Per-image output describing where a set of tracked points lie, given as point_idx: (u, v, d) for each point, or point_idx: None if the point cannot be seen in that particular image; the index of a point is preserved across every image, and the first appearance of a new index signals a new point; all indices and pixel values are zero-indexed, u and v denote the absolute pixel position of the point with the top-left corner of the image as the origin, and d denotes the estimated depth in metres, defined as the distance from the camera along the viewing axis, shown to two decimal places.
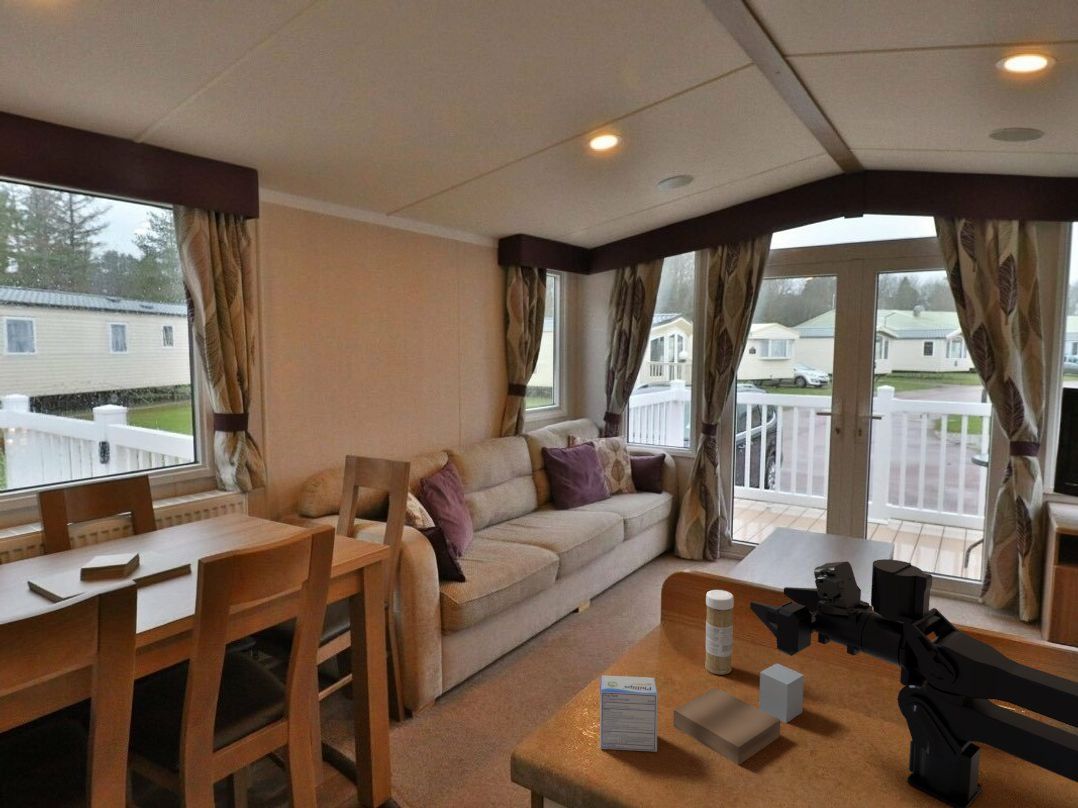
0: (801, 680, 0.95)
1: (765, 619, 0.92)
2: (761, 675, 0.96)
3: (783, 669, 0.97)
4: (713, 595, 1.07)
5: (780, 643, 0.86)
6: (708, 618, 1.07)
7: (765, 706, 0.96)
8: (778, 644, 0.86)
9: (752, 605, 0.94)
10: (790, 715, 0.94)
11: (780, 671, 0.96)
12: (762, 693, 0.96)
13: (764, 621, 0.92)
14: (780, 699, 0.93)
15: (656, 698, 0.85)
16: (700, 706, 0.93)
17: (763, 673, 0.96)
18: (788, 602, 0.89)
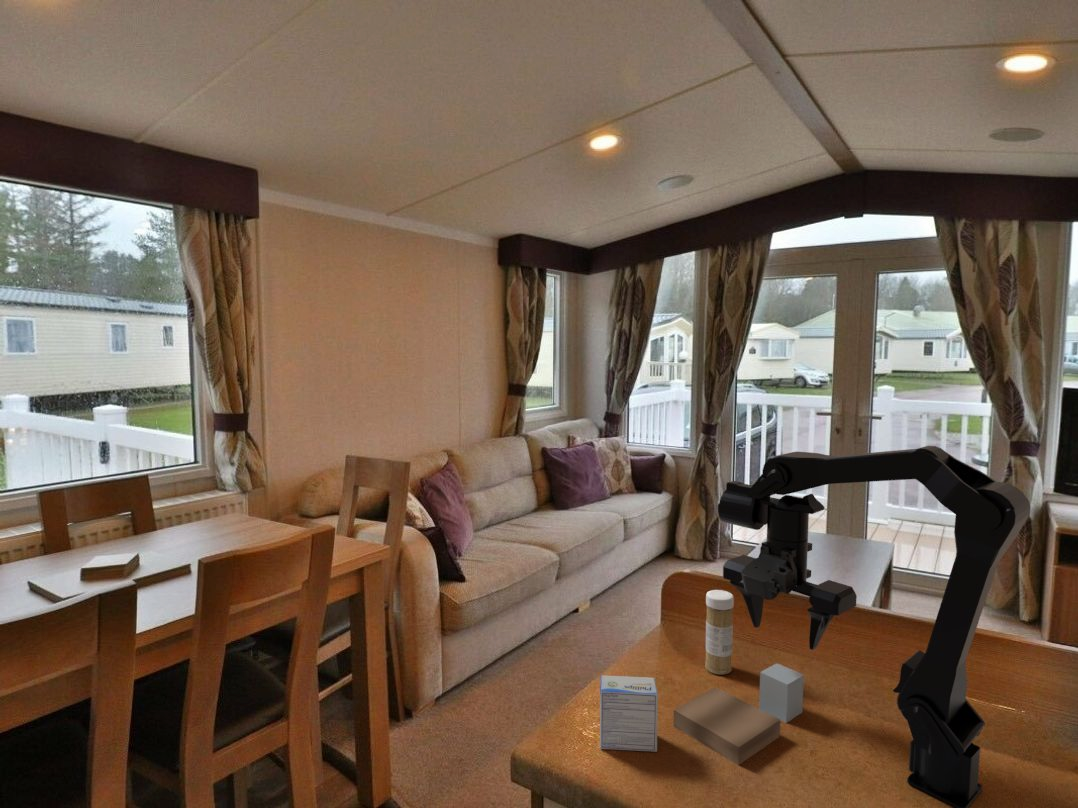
0: (801, 680, 0.95)
1: (824, 628, 0.91)
2: (761, 675, 0.96)
3: (783, 669, 0.97)
4: (713, 595, 1.07)
5: (853, 604, 0.88)
6: (708, 618, 1.07)
7: (765, 706, 0.96)
8: (853, 605, 0.88)
9: (814, 646, 0.91)
10: (790, 715, 0.94)
11: (780, 671, 0.96)
12: (762, 693, 0.96)
13: (825, 628, 0.91)
14: (780, 699, 0.93)
15: (656, 698, 0.85)
16: (700, 706, 0.93)
17: (763, 673, 0.96)
18: (812, 611, 0.88)
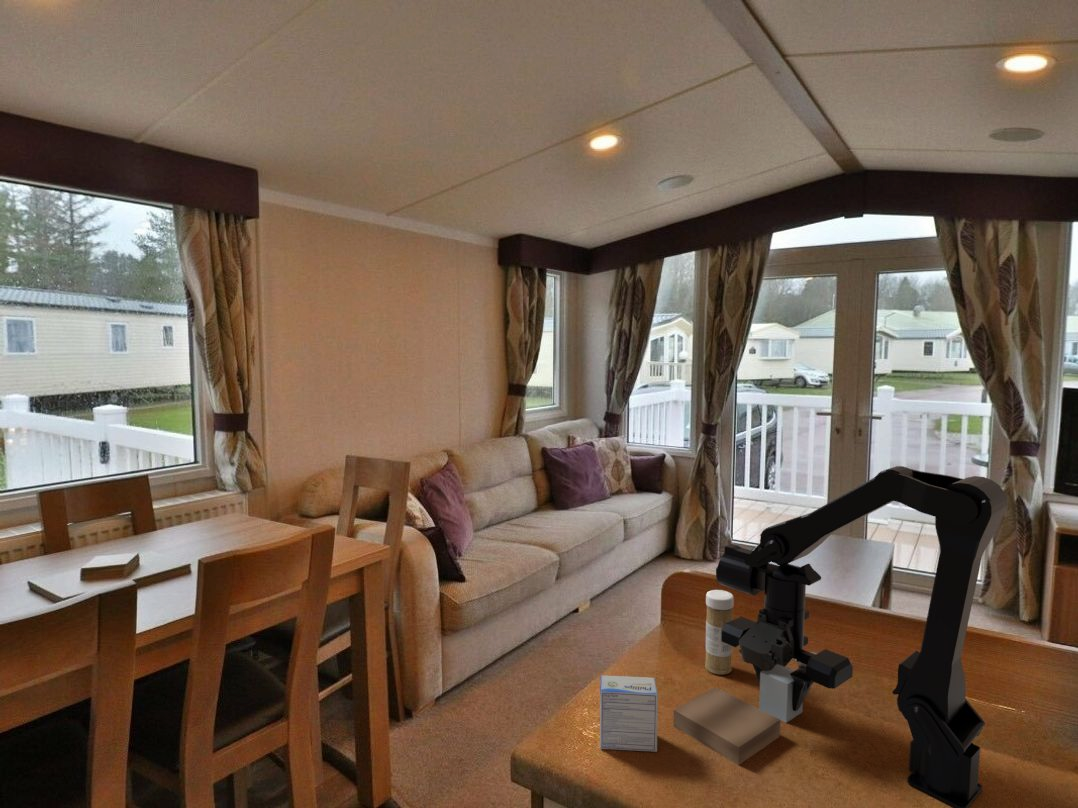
0: None
1: (806, 691, 0.93)
2: (761, 675, 0.96)
3: (783, 669, 0.97)
4: (713, 595, 1.07)
5: (849, 675, 0.89)
6: (708, 618, 1.07)
7: (765, 706, 0.96)
8: (850, 676, 0.89)
9: (797, 708, 0.94)
10: (790, 715, 0.94)
11: (780, 671, 0.96)
12: (762, 693, 0.96)
13: (807, 691, 0.94)
14: (780, 699, 0.93)
15: (656, 698, 0.85)
16: (700, 706, 0.93)
17: (763, 673, 0.96)
18: (794, 676, 0.91)
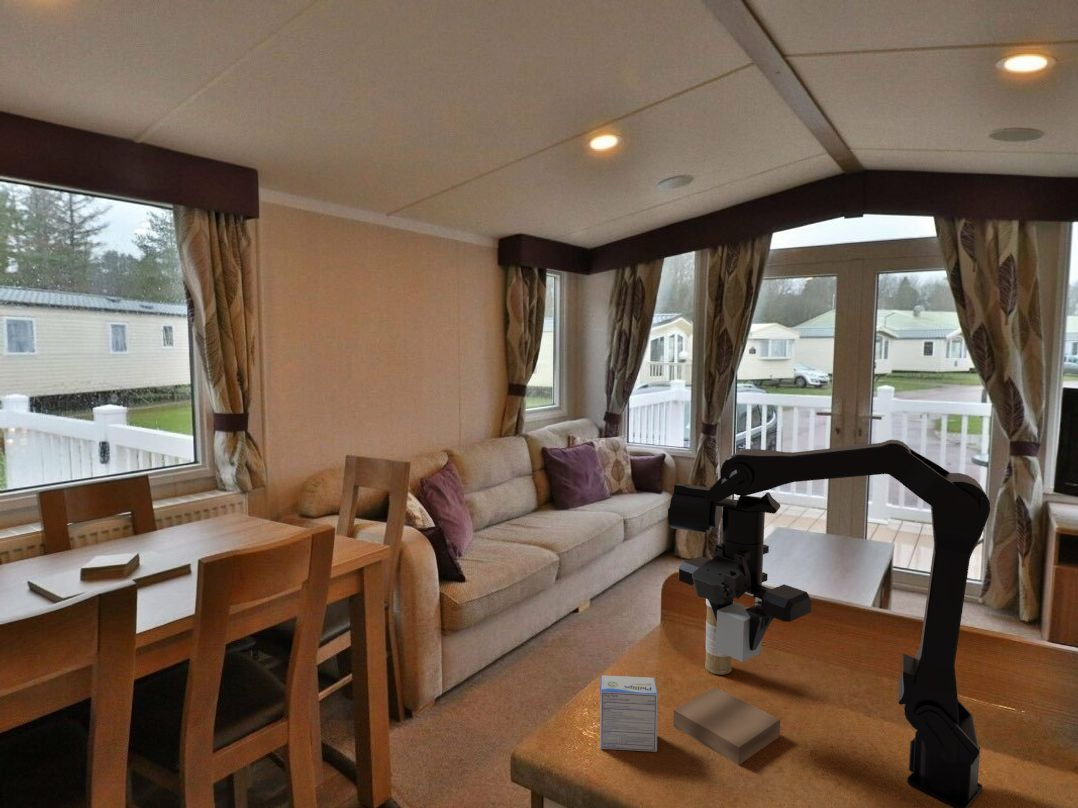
0: None
1: (764, 629, 0.88)
2: (718, 613, 0.91)
3: (742, 608, 0.92)
4: None
5: (807, 610, 0.84)
6: (708, 618, 1.07)
7: (722, 645, 0.91)
8: (808, 611, 0.84)
9: (754, 647, 0.89)
10: (747, 654, 0.89)
11: (738, 610, 0.91)
12: (719, 632, 0.91)
13: (765, 629, 0.89)
14: (736, 637, 0.89)
15: (656, 698, 0.85)
16: (700, 706, 0.93)
17: (720, 611, 0.91)
18: (750, 611, 0.86)
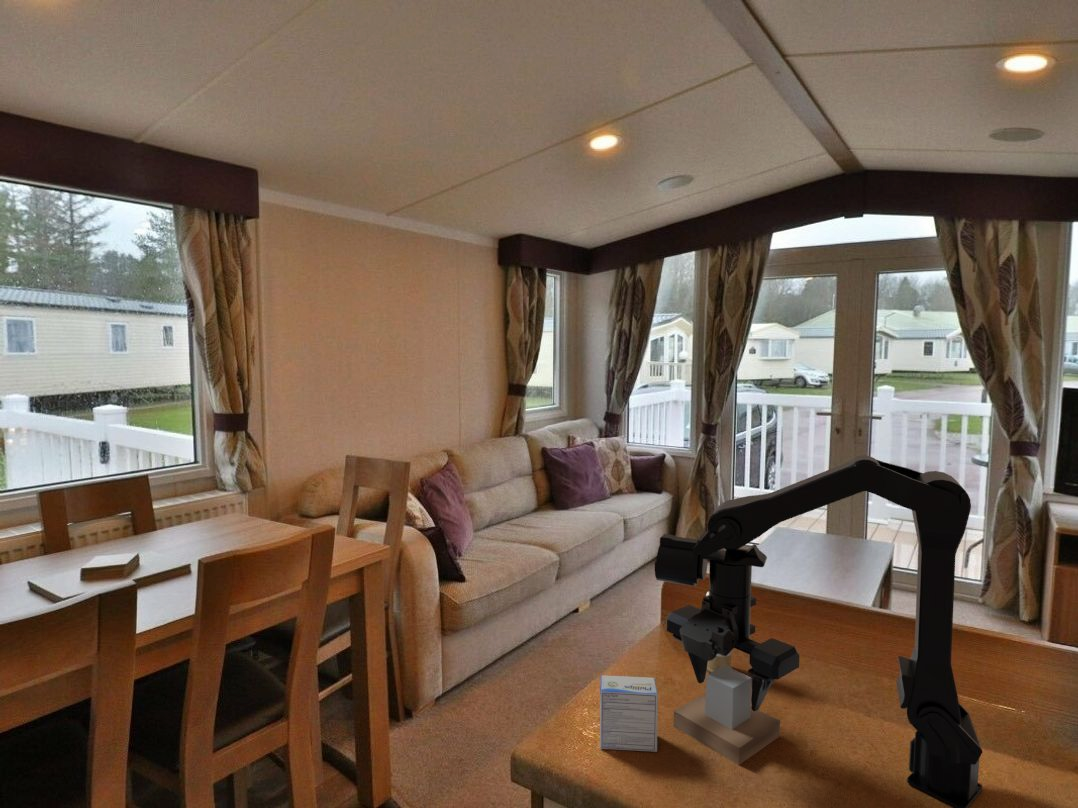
0: (749, 683, 0.89)
1: (766, 689, 0.86)
2: (707, 678, 0.90)
3: (731, 672, 0.91)
4: None
5: (795, 665, 0.83)
6: None
7: (711, 711, 0.90)
8: (796, 667, 0.84)
9: (756, 708, 0.86)
10: (737, 721, 0.88)
11: (727, 674, 0.91)
12: (708, 697, 0.90)
13: (768, 689, 0.86)
14: (726, 704, 0.88)
15: (656, 698, 0.85)
16: (700, 707, 0.93)
17: (709, 676, 0.90)
18: (752, 673, 0.83)
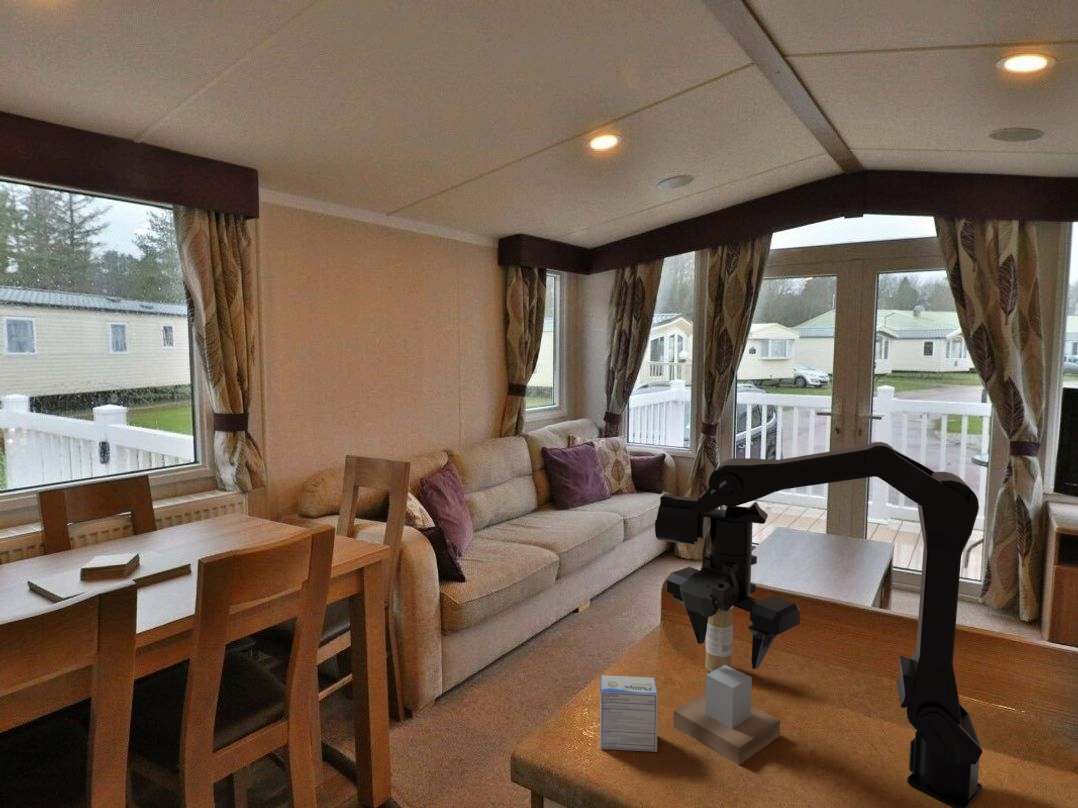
0: (749, 683, 0.89)
1: (767, 646, 0.86)
2: (707, 678, 0.90)
3: (731, 671, 0.91)
4: None
5: (796, 622, 0.83)
6: (708, 618, 1.07)
7: (711, 710, 0.90)
8: (797, 623, 0.83)
9: (757, 665, 0.86)
10: (737, 720, 0.88)
11: (727, 674, 0.91)
12: (708, 697, 0.90)
13: (768, 647, 0.86)
14: (726, 703, 0.88)
15: (656, 698, 0.85)
16: (700, 706, 0.93)
17: (709, 676, 0.90)
18: (753, 629, 0.83)
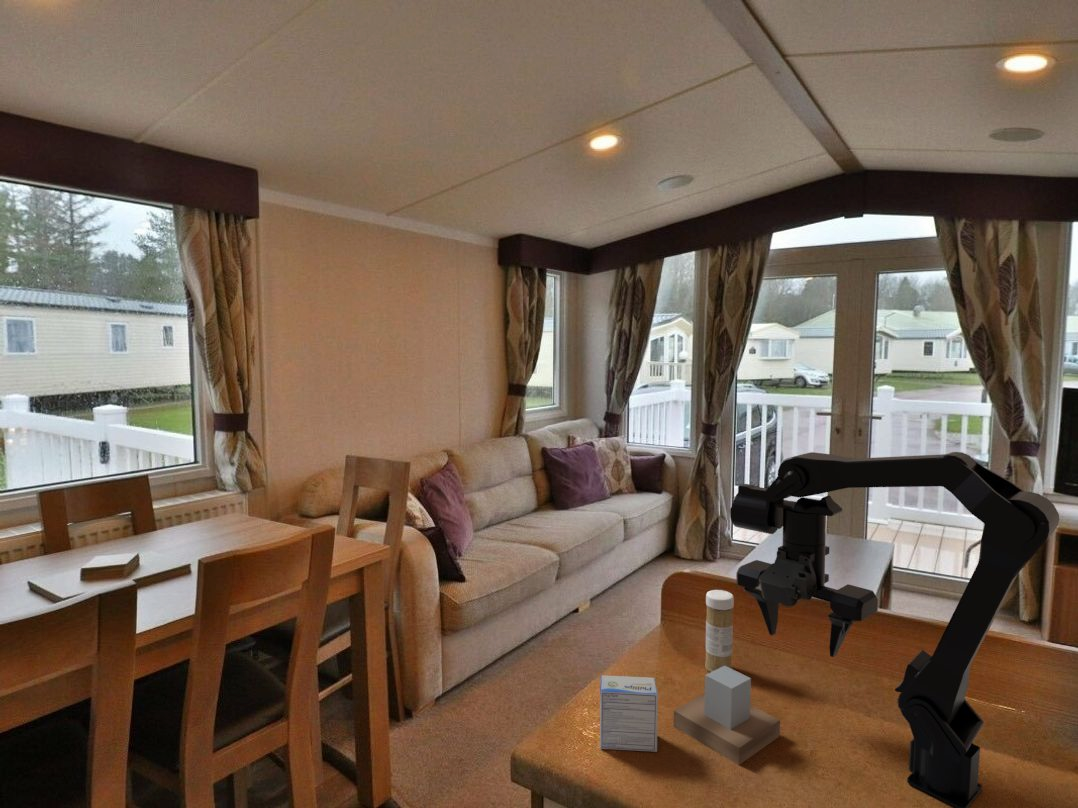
0: (748, 684, 0.89)
1: (844, 634, 0.88)
2: (706, 678, 0.90)
3: (730, 672, 0.91)
4: (713, 595, 1.07)
5: (874, 608, 0.85)
6: (708, 618, 1.07)
7: (710, 711, 0.90)
8: (875, 610, 0.85)
9: (835, 653, 0.88)
10: (735, 721, 0.88)
11: (727, 674, 0.90)
12: (707, 697, 0.90)
13: (845, 635, 0.88)
14: (724, 704, 0.88)
15: (656, 698, 0.85)
16: (700, 706, 0.93)
17: (708, 676, 0.90)
18: (833, 617, 0.85)
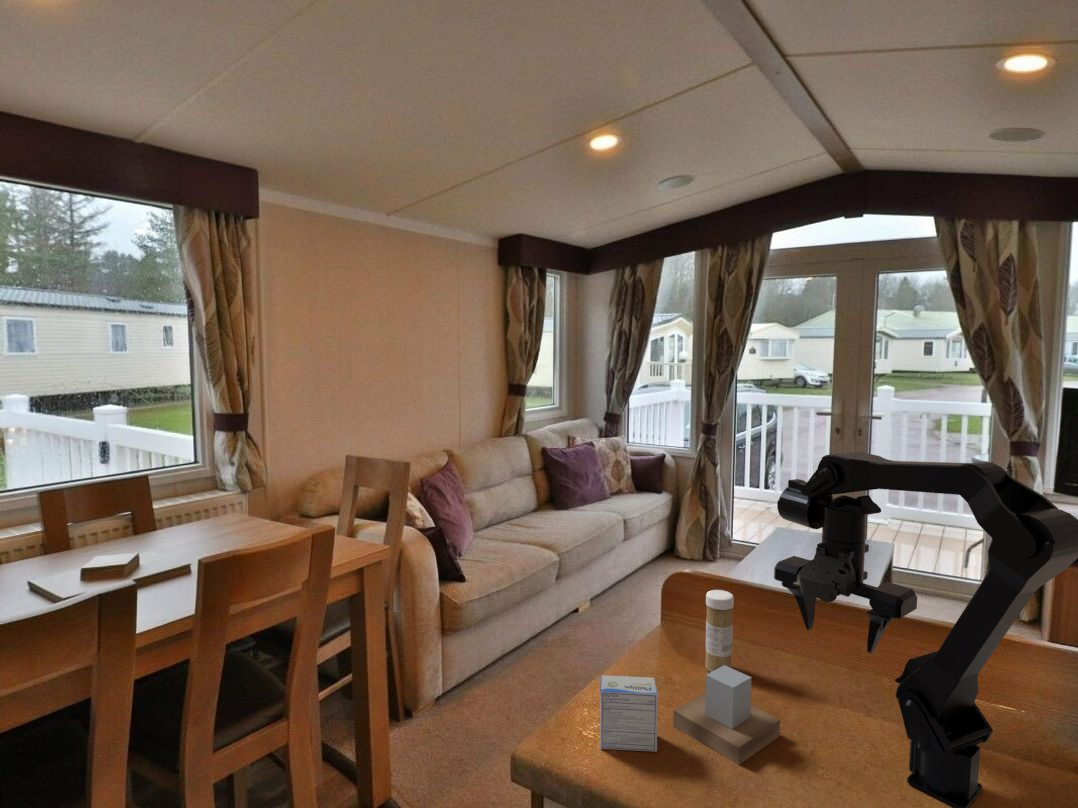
0: (749, 683, 0.89)
1: (882, 631, 0.89)
2: (707, 678, 0.90)
3: (730, 671, 0.91)
4: (713, 595, 1.07)
5: (914, 606, 0.86)
6: (708, 618, 1.07)
7: (711, 711, 0.90)
8: (914, 608, 0.87)
9: (872, 649, 0.89)
10: (737, 720, 0.88)
11: (727, 674, 0.90)
12: (708, 697, 0.90)
13: (883, 631, 0.89)
14: (726, 703, 0.88)
15: (656, 698, 0.85)
16: (700, 706, 0.93)
17: (709, 676, 0.90)
18: (872, 614, 0.86)
